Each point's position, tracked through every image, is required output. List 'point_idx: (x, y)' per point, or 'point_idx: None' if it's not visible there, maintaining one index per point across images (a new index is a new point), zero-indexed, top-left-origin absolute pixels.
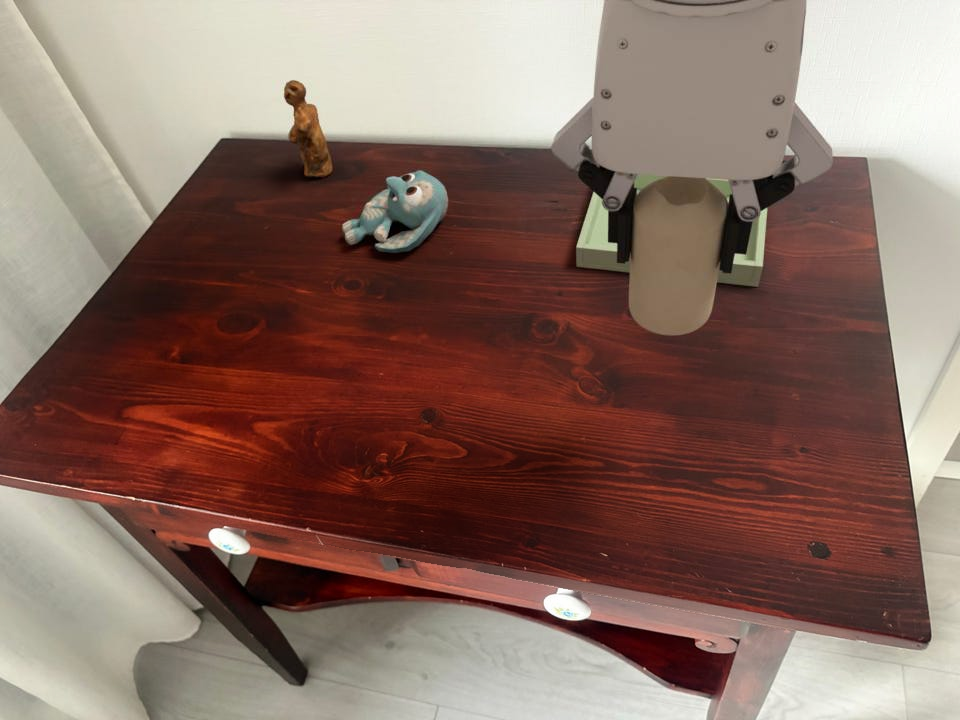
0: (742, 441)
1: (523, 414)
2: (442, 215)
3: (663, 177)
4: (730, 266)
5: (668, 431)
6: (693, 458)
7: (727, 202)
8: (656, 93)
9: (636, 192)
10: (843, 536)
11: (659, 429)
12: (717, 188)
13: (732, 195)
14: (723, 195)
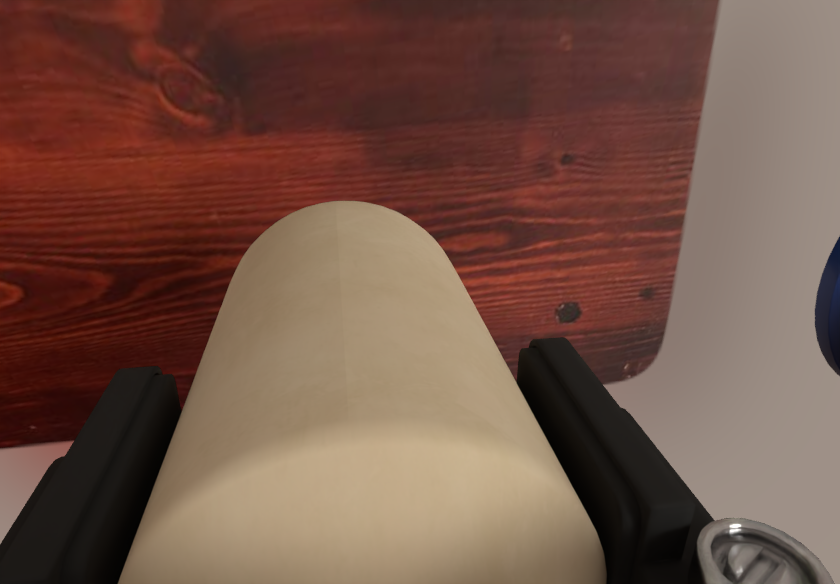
0: (476, 163)
1: (82, 189)
2: None
3: (232, 572)
4: None
5: (355, 169)
6: (402, 213)
7: (604, 572)
8: None
9: (95, 558)
10: (599, 287)
11: (340, 168)
12: (569, 565)
13: (634, 531)
14: (591, 561)
